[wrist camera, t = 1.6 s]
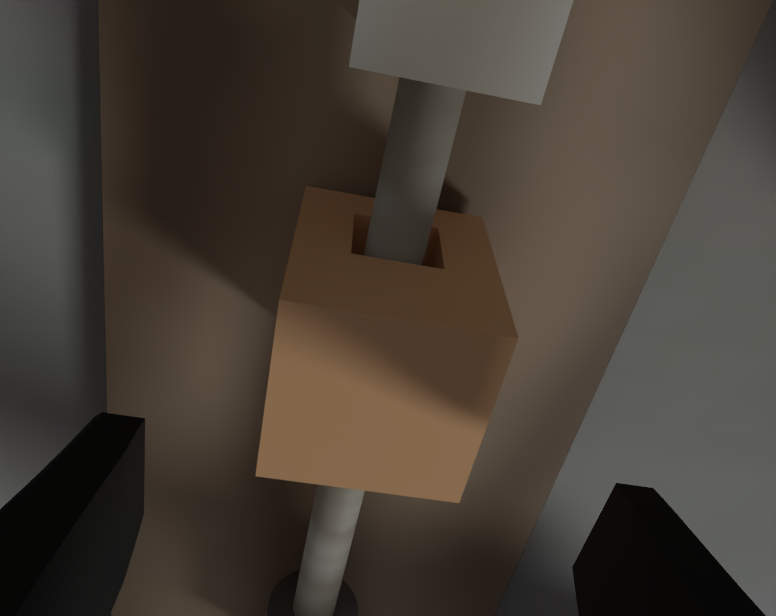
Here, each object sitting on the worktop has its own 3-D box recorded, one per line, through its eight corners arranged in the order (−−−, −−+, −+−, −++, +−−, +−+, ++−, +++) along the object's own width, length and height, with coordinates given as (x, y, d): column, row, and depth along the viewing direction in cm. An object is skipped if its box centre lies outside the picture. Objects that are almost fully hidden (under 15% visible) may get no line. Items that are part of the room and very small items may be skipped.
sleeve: (482, 217, 16) (518, 338, 12) (440, 358, 18) (459, 503, 14) (306, 185, 15) (279, 299, 11) (284, 334, 17) (255, 476, 13)
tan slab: (759, -38, 14) (927, 0, 10) (441, 695, 29) (453, 842, 24) (116, -188, 13) (-21, -221, 8) (122, 663, 27) (74, 814, 23)
